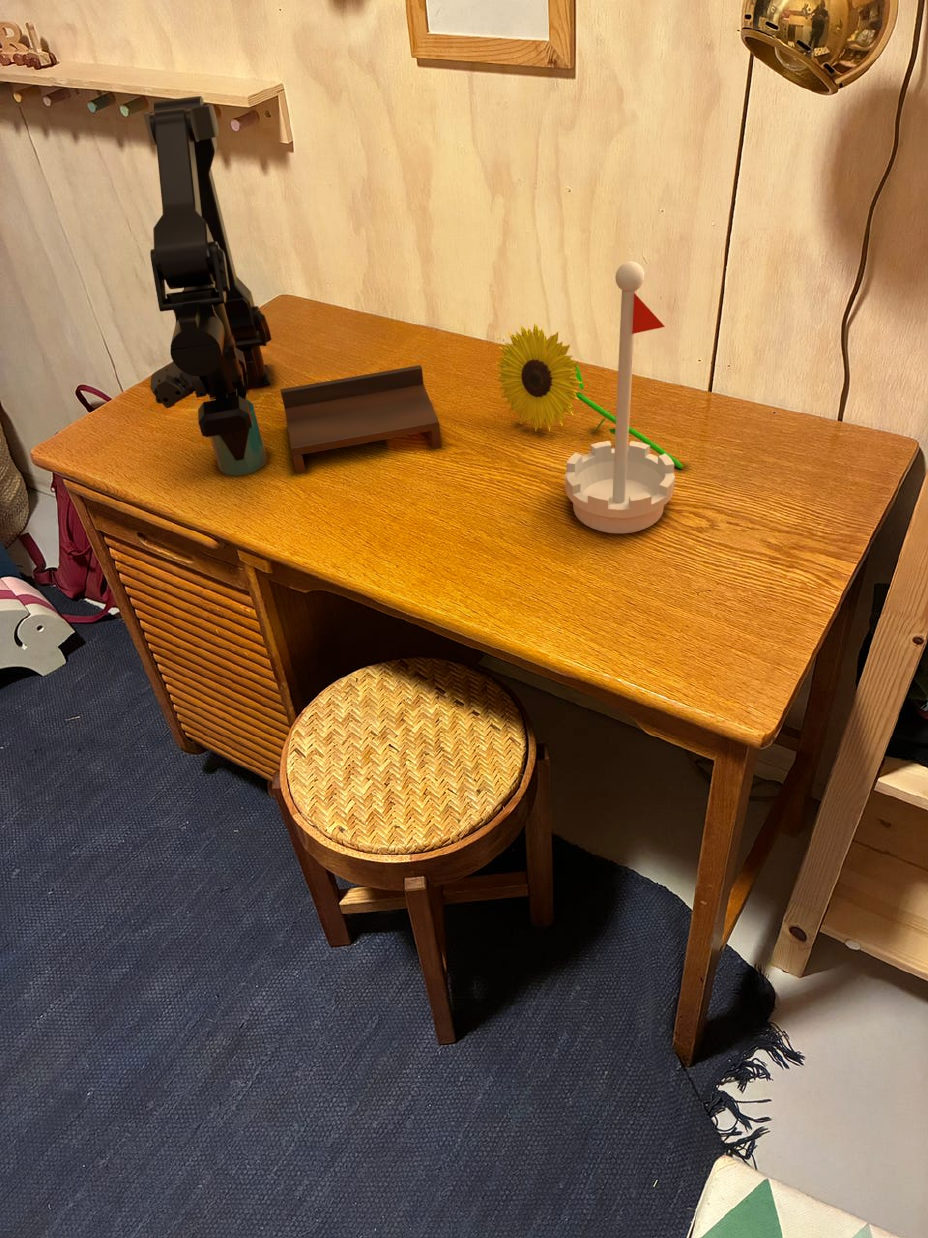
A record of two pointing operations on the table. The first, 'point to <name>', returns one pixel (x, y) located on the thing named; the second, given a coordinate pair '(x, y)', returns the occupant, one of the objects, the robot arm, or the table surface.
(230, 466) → the glazed pot
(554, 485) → the table surface
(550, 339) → the decorative plant
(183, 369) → the robot arm
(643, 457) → the flag stand
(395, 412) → the desk shelf
